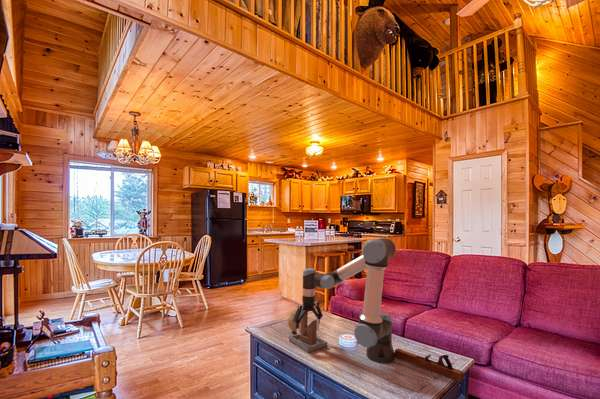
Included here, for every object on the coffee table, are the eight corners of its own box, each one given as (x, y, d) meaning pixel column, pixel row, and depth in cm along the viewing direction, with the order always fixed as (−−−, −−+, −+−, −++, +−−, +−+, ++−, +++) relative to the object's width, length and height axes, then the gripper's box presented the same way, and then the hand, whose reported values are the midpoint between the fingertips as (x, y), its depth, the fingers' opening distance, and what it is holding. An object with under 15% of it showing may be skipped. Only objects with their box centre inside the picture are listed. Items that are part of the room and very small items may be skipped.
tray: (327, 347, 179) (327, 342, 180) (307, 353, 171) (307, 347, 172) (307, 336, 195) (307, 331, 195) (288, 341, 187) (289, 336, 187)
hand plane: (465, 379, 148) (464, 357, 148) (461, 383, 144) (461, 361, 144) (397, 355, 172) (397, 336, 172) (393, 358, 168) (393, 339, 168)
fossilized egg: (283, 330, 203) (283, 307, 204) (297, 326, 212) (298, 304, 213) (296, 336, 194) (296, 312, 195) (310, 332, 203) (311, 308, 203)
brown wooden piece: (312, 346, 178) (312, 314, 179) (299, 340, 186) (300, 309, 187) (316, 344, 180) (317, 313, 181) (304, 338, 188) (304, 308, 189)
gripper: (321, 291, 195) (320, 325, 194) (287, 296, 181) (286, 333, 179) (328, 293, 189) (328, 329, 188) (294, 299, 174) (294, 338, 173)
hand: (308, 331), depth 184 cm, fingers open, 13 cm apart
